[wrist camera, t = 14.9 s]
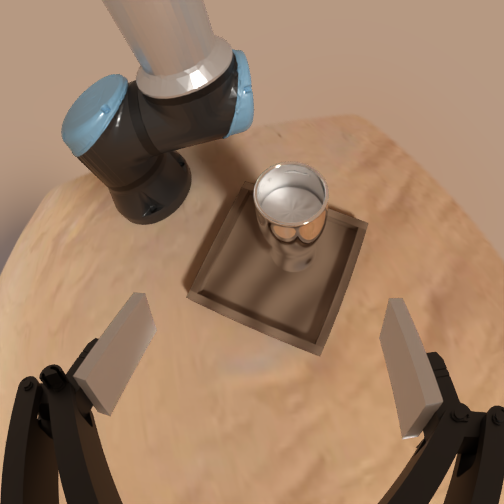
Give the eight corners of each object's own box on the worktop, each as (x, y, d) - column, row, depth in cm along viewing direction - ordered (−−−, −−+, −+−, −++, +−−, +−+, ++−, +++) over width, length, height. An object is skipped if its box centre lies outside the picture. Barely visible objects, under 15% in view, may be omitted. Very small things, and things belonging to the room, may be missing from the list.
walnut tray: (192, 300, 43) (186, 297, 40) (247, 189, 48) (245, 181, 45) (318, 355, 38) (320, 356, 35) (364, 229, 43) (368, 223, 40)
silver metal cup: (304, 285, 37) (310, 242, 23) (257, 261, 39) (235, 207, 25) (328, 239, 38) (343, 177, 24) (282, 218, 40) (274, 149, 26)
